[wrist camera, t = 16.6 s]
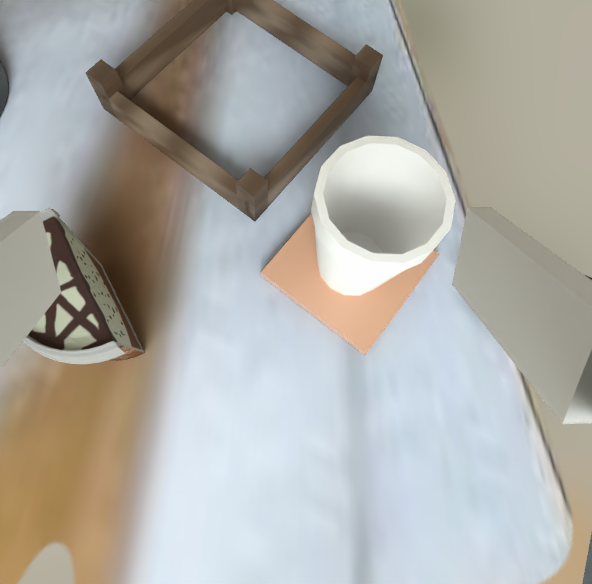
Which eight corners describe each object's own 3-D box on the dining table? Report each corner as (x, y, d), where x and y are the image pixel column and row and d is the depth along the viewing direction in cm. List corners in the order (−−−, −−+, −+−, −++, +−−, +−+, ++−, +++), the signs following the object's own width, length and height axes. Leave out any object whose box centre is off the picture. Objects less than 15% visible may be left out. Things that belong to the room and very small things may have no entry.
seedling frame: (103, 108, 48) (85, 72, 43) (229, -5, 53) (226, -48, 48) (255, 221, 45) (253, 196, 40) (371, 90, 50) (382, 55, 45)
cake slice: (31, 281, 42) (-39, 238, 32) (95, 251, 43) (46, 201, 34) (85, 403, 39) (26, 394, 30) (152, 367, 40) (116, 348, 31)
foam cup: (343, 199, 45) (372, 111, 32) (420, 257, 44) (481, 189, 31) (280, 269, 42) (285, 203, 30) (359, 333, 41) (399, 292, 29)
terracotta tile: (261, 276, 43) (260, 272, 42) (336, 188, 47) (337, 182, 45) (364, 355, 42) (366, 353, 41) (434, 258, 45) (439, 254, 44)
